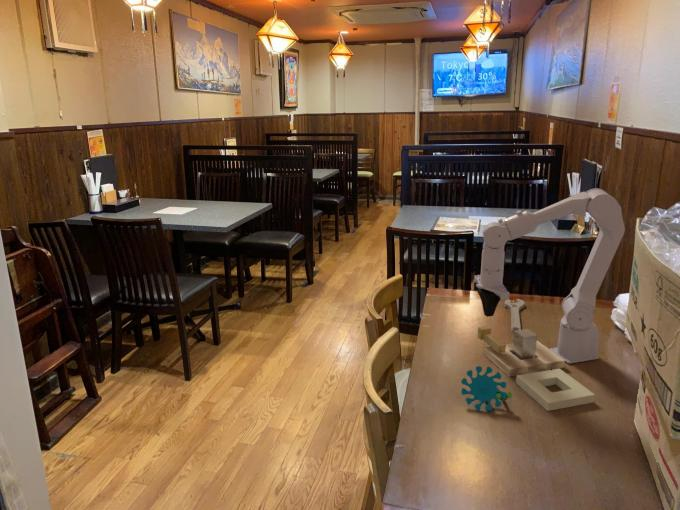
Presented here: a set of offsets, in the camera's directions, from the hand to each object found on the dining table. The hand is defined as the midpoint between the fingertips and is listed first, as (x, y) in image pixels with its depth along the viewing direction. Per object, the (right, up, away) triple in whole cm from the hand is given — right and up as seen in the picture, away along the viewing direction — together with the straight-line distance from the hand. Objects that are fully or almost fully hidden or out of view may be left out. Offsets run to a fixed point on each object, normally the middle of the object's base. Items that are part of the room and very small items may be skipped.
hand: (488, 315), depth 137 cm
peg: (+7, -11, -5) cm, 14 cm away
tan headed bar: (0, -7, -3) cm, 8 cm away
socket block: (+7, -11, -5) cm, 14 cm away
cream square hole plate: (+9, -16, -20) cm, 27 cm away
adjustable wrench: (+14, -3, +22) cm, 26 cm away
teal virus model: (-8, -17, -23) cm, 30 cm away
